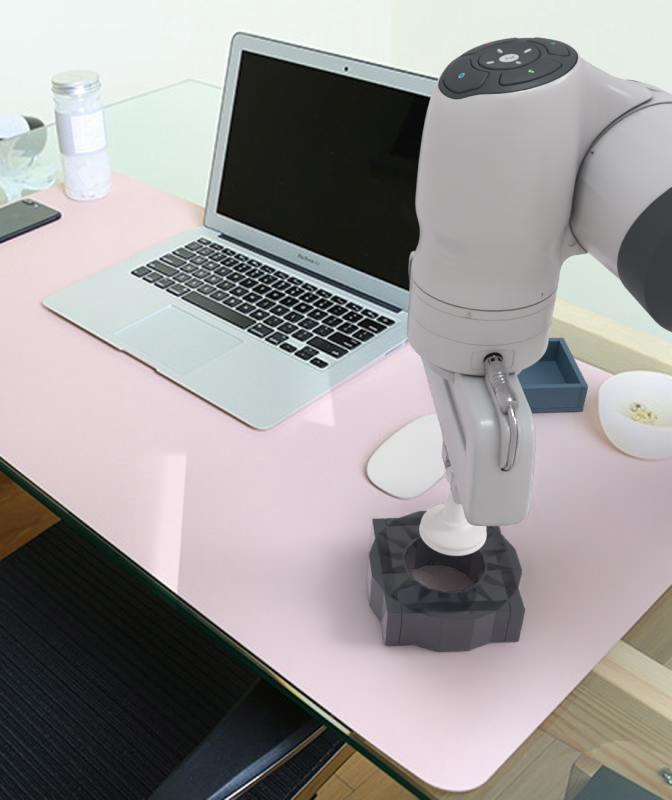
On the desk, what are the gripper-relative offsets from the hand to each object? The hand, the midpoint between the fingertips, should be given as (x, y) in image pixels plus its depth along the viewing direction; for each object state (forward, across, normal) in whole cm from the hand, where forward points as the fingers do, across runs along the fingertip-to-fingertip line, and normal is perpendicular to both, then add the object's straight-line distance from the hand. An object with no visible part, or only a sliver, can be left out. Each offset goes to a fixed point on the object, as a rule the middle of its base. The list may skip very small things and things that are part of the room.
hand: (459, 480), depth 68 cm
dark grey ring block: (+12, 0, 0) cm, 12 cm away
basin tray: (+12, +27, -13) cm, 32 cm away
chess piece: (+5, 0, 0) cm, 5 cm away
